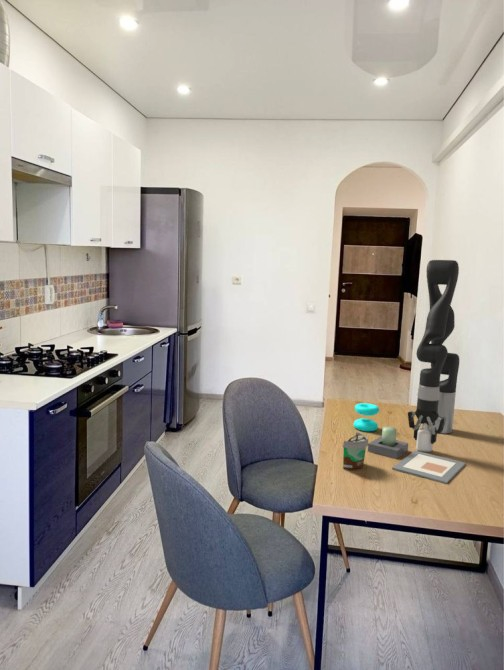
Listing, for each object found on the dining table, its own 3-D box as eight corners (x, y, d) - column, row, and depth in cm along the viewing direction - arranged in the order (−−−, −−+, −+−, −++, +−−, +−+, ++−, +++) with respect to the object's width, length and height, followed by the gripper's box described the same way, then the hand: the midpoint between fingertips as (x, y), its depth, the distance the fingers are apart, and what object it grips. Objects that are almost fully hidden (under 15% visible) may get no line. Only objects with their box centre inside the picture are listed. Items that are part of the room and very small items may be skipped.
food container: (359, 474, 171) (361, 445, 170) (341, 470, 174) (343, 441, 173) (371, 463, 182) (373, 435, 180) (354, 459, 185) (356, 431, 183)
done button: (384, 441, 197) (385, 425, 197) (397, 444, 195) (398, 428, 194) (379, 444, 193) (380, 428, 193) (392, 447, 191) (393, 431, 190)
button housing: (379, 443, 202) (380, 436, 202) (407, 450, 196) (408, 443, 195) (367, 451, 193) (368, 443, 193) (396, 458, 187) (397, 450, 186)
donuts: (384, 407, 217) (364, 409, 213) (382, 431, 218) (362, 433, 214) (369, 401, 226) (350, 403, 222) (368, 424, 227) (348, 426, 223)
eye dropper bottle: (430, 453, 193) (433, 422, 192) (415, 450, 196) (417, 419, 194) (432, 450, 197) (435, 419, 195) (417, 447, 200) (420, 416, 198)
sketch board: (414, 452, 194) (414, 450, 194) (465, 464, 184) (465, 462, 184) (392, 469, 177) (392, 467, 177) (446, 483, 166) (446, 481, 166)
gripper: (451, 398, 193) (447, 443, 195) (412, 392, 201) (409, 434, 203) (445, 402, 187) (440, 448, 189) (405, 395, 195) (402, 439, 197)
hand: (424, 441), depth 196 cm, fingers closed on eye dropper bottle, 5 cm apart
